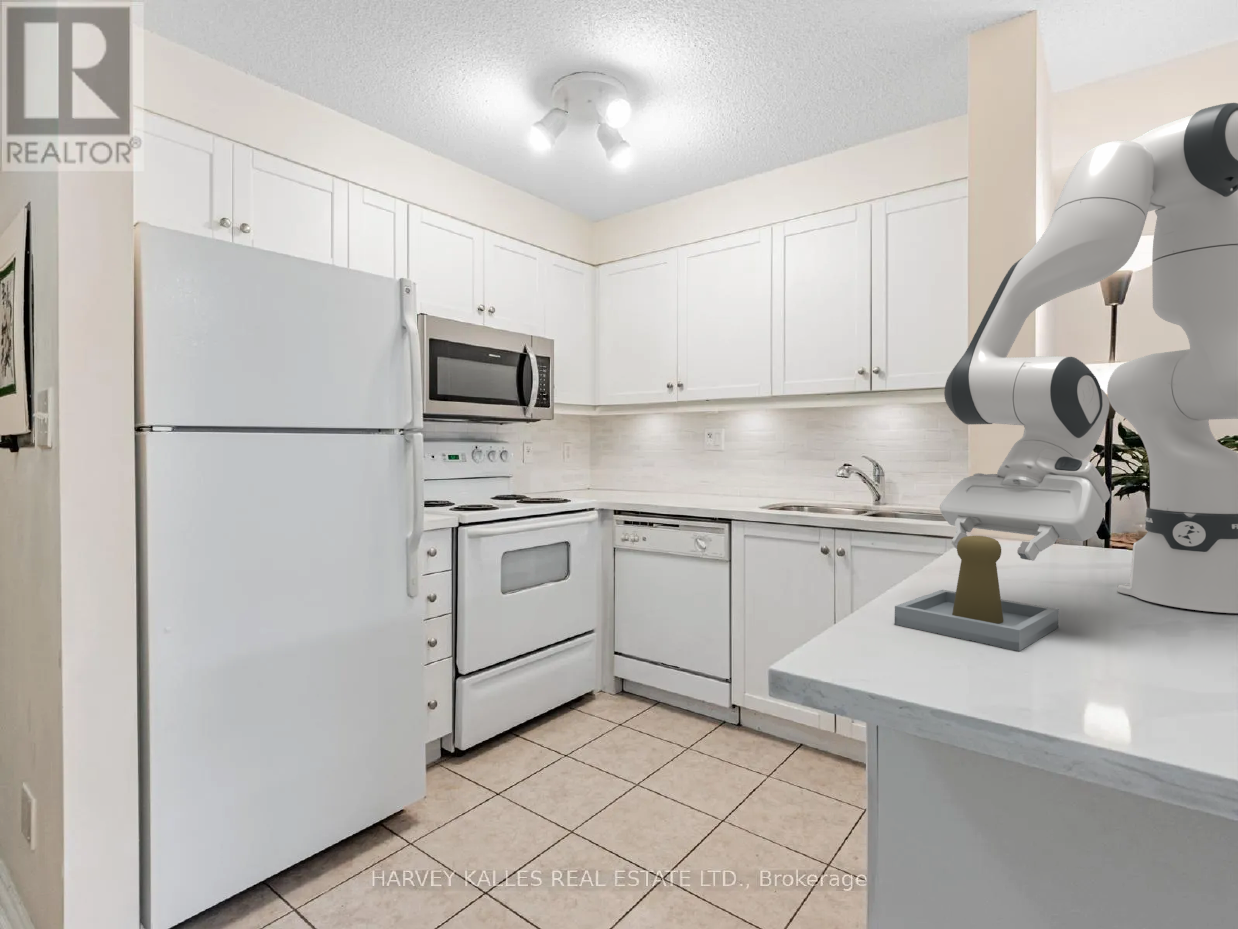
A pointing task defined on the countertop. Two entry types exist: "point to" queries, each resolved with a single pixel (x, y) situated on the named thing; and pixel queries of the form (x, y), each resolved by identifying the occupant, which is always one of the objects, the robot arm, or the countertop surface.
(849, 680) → the countertop surface
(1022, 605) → the slate grey tray
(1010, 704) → the countertop surface
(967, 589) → the cork
